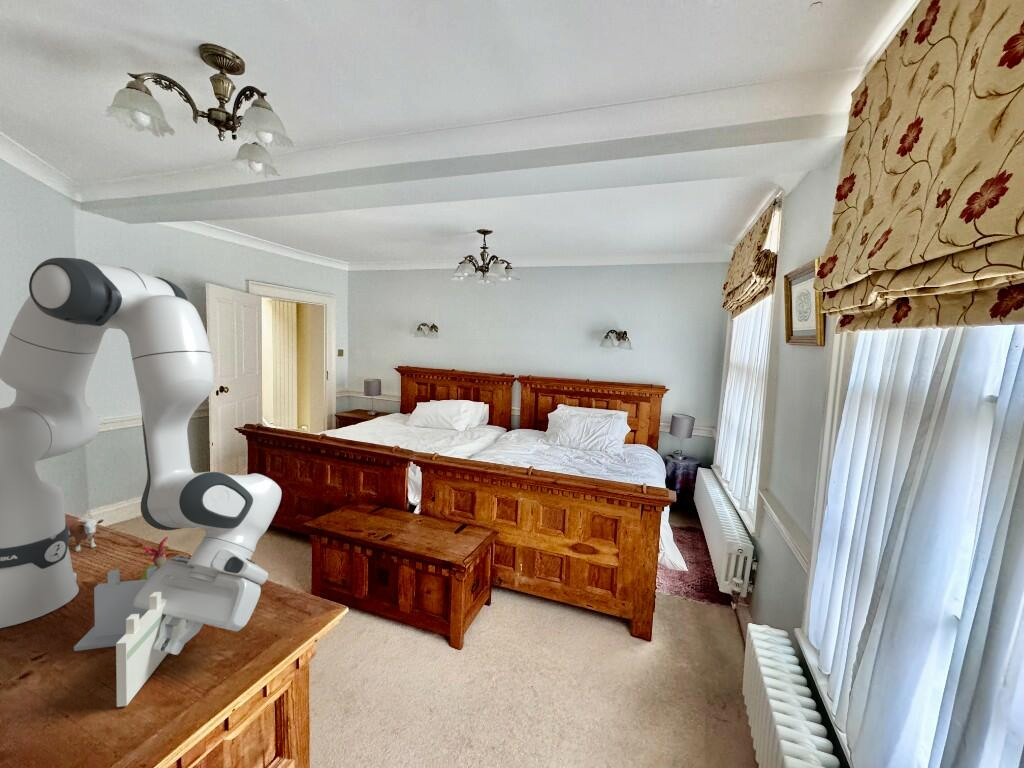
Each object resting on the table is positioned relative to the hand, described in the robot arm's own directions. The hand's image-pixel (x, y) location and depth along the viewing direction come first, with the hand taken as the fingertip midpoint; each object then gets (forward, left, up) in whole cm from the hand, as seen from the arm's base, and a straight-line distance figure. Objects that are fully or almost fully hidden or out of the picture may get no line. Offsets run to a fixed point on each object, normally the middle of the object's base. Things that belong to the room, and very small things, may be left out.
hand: (165, 652), depth 65 cm
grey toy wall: (-13, +9, -4) cm, 16 cm away
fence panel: (-3, +3, -4) cm, 6 cm away
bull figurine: (-48, +37, -5) cm, 61 cm away
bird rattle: (-18, +23, -5) cm, 29 cm away
